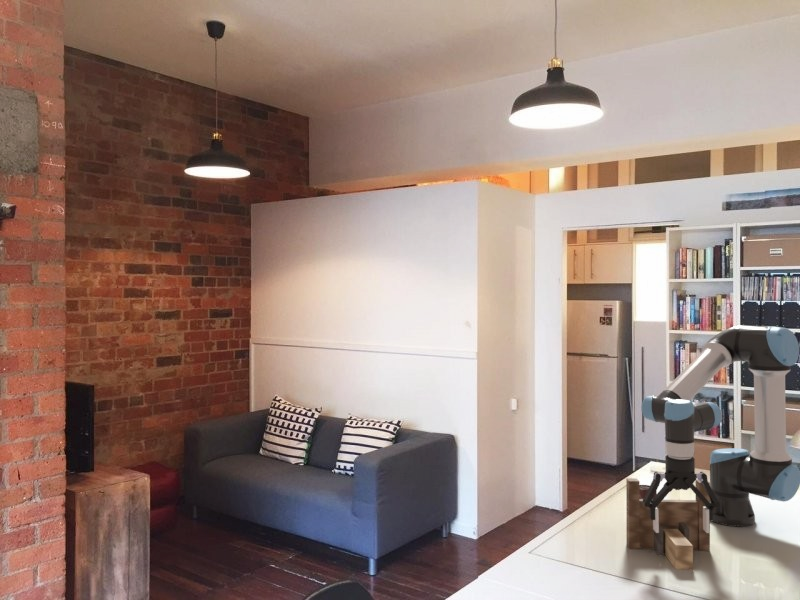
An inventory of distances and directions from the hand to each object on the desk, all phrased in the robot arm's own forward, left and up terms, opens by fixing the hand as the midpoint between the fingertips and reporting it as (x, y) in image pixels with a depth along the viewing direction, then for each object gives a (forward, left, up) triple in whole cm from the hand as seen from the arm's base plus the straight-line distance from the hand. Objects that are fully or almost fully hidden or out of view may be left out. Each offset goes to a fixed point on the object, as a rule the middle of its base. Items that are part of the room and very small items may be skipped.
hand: (681, 531), depth 186 cm
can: (+3, -24, -9) cm, 26 cm away
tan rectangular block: (+1, -2, -9) cm, 9 cm away
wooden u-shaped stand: (0, -8, -9) cm, 12 cm away
